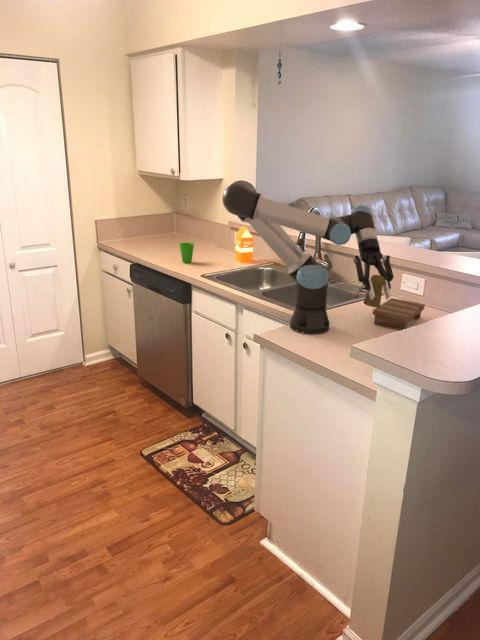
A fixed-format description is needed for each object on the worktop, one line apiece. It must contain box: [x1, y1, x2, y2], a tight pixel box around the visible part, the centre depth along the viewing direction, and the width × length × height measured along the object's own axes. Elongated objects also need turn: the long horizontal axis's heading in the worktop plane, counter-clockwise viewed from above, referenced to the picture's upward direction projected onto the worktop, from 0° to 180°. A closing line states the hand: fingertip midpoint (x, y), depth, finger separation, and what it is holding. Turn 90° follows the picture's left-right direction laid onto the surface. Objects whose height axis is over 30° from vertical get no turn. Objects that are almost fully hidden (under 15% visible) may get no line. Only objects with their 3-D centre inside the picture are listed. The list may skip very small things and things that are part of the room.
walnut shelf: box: [372, 297, 426, 331], centre depth 207 cm, size 20×14×6 cm
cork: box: [363, 274, 385, 308], centre depth 186 cm, size 6×6×11 cm
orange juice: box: [235, 225, 254, 264], centre depth 304 cm, size 8×9×20 cm
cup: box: [178, 242, 195, 264], centre depth 299 cm, size 9×9×11 cm
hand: (380, 297), depth 183 cm, fingers closed on cork, 5 cm apart
